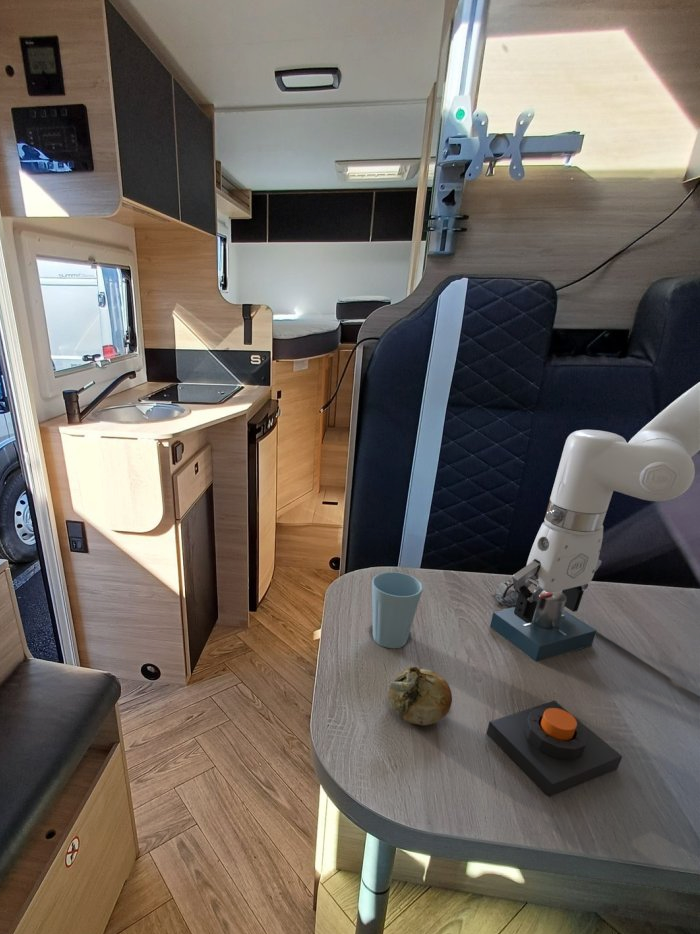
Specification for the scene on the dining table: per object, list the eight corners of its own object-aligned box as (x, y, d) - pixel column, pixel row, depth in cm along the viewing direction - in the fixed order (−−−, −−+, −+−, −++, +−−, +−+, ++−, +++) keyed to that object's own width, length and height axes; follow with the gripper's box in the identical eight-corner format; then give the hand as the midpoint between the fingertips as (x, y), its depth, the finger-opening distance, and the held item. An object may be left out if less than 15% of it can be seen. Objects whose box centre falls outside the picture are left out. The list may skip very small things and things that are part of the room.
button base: (550, 712, 70) (557, 689, 69) (617, 769, 62) (627, 745, 60) (485, 734, 67) (492, 710, 65) (547, 797, 58) (556, 772, 57)
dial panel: (543, 613, 92) (547, 598, 91) (591, 645, 84) (597, 629, 83) (489, 626, 88) (493, 611, 87) (535, 661, 80) (540, 645, 79)
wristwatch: (512, 613, 94) (532, 594, 94) (495, 597, 93) (516, 578, 92) (503, 606, 97) (523, 587, 96) (486, 590, 96) (506, 571, 95)
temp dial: (543, 611, 87) (551, 584, 85) (564, 625, 84) (573, 597, 81) (523, 616, 86) (530, 588, 84) (544, 630, 82) (552, 602, 80)
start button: (555, 715, 65) (559, 704, 64) (580, 736, 62) (584, 725, 61) (533, 722, 64) (537, 712, 63) (557, 744, 61) (561, 733, 60)
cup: (362, 624, 88) (368, 570, 84) (407, 625, 88) (415, 571, 84) (369, 652, 81) (376, 596, 77) (418, 653, 82) (428, 597, 77)
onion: (439, 745, 65) (450, 696, 61) (378, 722, 68) (385, 674, 65) (452, 707, 71) (462, 661, 67) (395, 688, 74) (402, 642, 71)
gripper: (550, 533, 71) (521, 636, 78) (639, 518, 76) (604, 615, 84) (510, 513, 77) (487, 610, 84) (594, 500, 83) (565, 592, 90)
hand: (545, 612), depth 84 cm, fingers open, 9 cm apart
